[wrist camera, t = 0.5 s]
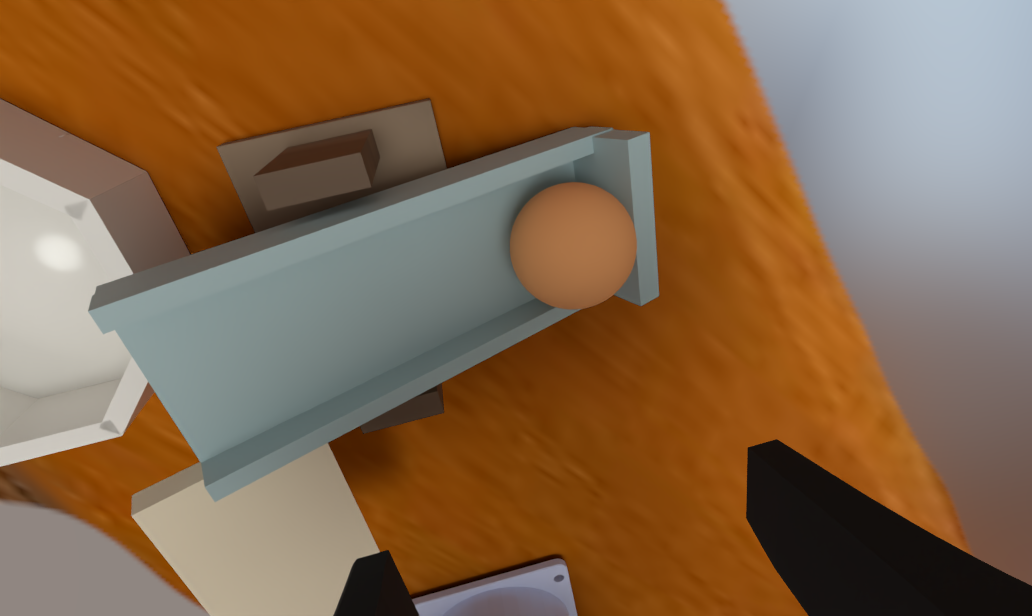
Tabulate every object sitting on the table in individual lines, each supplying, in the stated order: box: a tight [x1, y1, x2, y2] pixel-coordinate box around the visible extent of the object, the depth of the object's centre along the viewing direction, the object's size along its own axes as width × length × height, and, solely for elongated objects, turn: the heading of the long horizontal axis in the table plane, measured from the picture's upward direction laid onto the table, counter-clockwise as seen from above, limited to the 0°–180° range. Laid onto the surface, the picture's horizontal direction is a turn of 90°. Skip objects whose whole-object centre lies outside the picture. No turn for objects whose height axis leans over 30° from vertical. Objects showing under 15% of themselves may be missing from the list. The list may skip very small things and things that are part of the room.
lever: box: [88, 126, 659, 616], centre depth 15 cm, size 12×15×3 cm
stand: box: [217, 98, 447, 434], centre depth 15 cm, size 8×6×4 cm
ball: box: [510, 182, 637, 310], centre depth 15 cm, size 4×4×4 cm
